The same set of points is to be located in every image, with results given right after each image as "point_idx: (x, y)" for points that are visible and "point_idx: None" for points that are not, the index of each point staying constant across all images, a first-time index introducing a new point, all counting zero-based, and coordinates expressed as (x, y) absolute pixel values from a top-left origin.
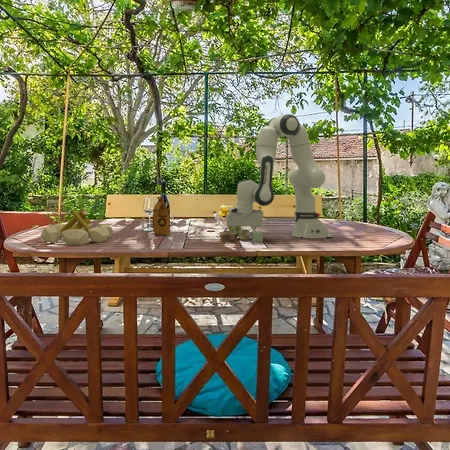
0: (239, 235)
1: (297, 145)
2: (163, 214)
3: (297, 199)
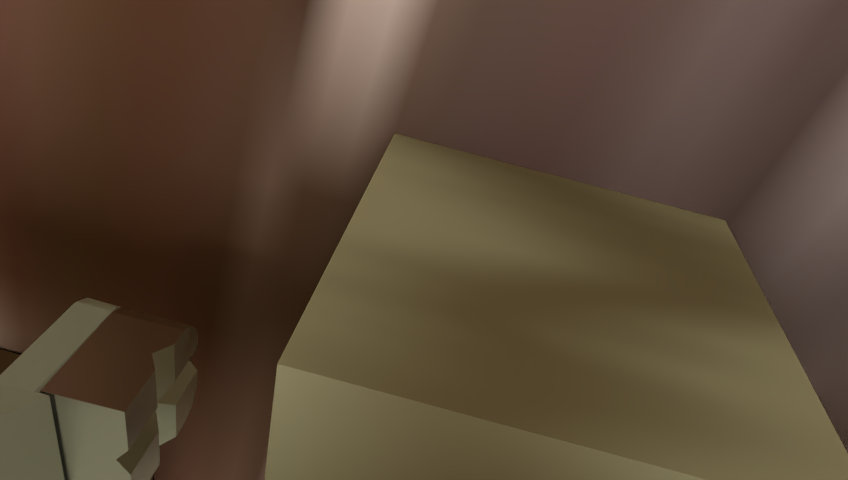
0: (370, 184)
1: None
2: None
3: None
